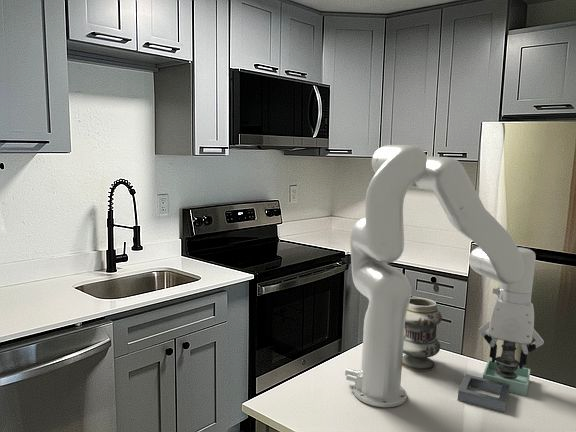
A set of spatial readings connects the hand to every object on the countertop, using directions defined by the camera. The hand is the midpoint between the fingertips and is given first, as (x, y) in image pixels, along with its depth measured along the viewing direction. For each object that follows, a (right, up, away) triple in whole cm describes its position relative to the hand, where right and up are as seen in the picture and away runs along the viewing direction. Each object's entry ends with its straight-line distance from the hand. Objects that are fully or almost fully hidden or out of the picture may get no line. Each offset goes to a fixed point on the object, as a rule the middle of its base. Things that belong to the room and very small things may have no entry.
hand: (507, 363), depth 128 cm
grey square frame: (-9, -6, -7) cm, 13 cm away
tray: (0, -5, +1) cm, 5 cm away
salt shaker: (0, -3, 0) cm, 3 cm away
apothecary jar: (-21, -3, +10) cm, 24 cm away
